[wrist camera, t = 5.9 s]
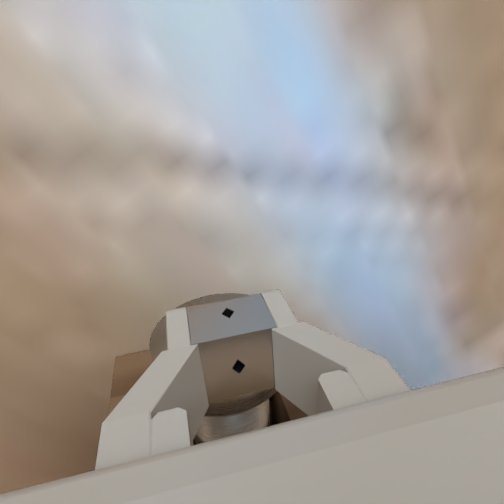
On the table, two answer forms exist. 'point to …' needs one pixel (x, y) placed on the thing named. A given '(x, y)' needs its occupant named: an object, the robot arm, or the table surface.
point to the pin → (229, 410)
